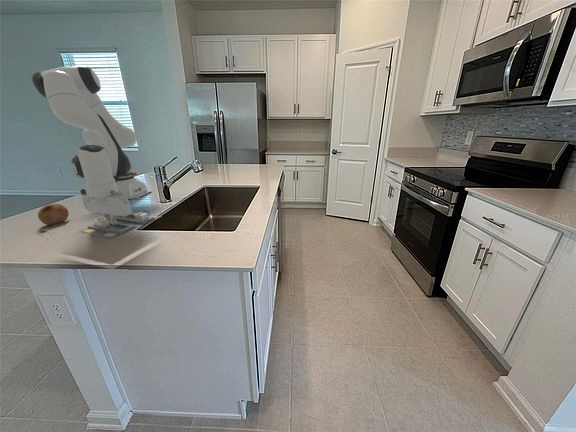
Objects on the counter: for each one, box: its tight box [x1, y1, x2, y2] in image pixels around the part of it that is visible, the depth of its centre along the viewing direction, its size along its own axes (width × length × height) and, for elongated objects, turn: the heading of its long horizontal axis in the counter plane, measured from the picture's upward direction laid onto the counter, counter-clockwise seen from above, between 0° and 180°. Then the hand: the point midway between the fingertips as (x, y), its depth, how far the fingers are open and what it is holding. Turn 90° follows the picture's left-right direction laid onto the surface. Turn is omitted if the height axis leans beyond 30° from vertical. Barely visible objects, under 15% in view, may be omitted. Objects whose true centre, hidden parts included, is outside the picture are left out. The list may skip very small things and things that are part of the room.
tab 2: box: [134, 211, 149, 221], centre depth 104 cm, size 3×4×4 cm
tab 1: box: [92, 216, 110, 228], centre depth 98 cm, size 3×4×4 cm
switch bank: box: [77, 211, 163, 239], centre depth 102 cm, size 24×18×2 cm
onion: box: [37, 203, 69, 226], centre depth 102 cm, size 10×9×10 cm
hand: (112, 223), depth 96 cm, fingers closed
